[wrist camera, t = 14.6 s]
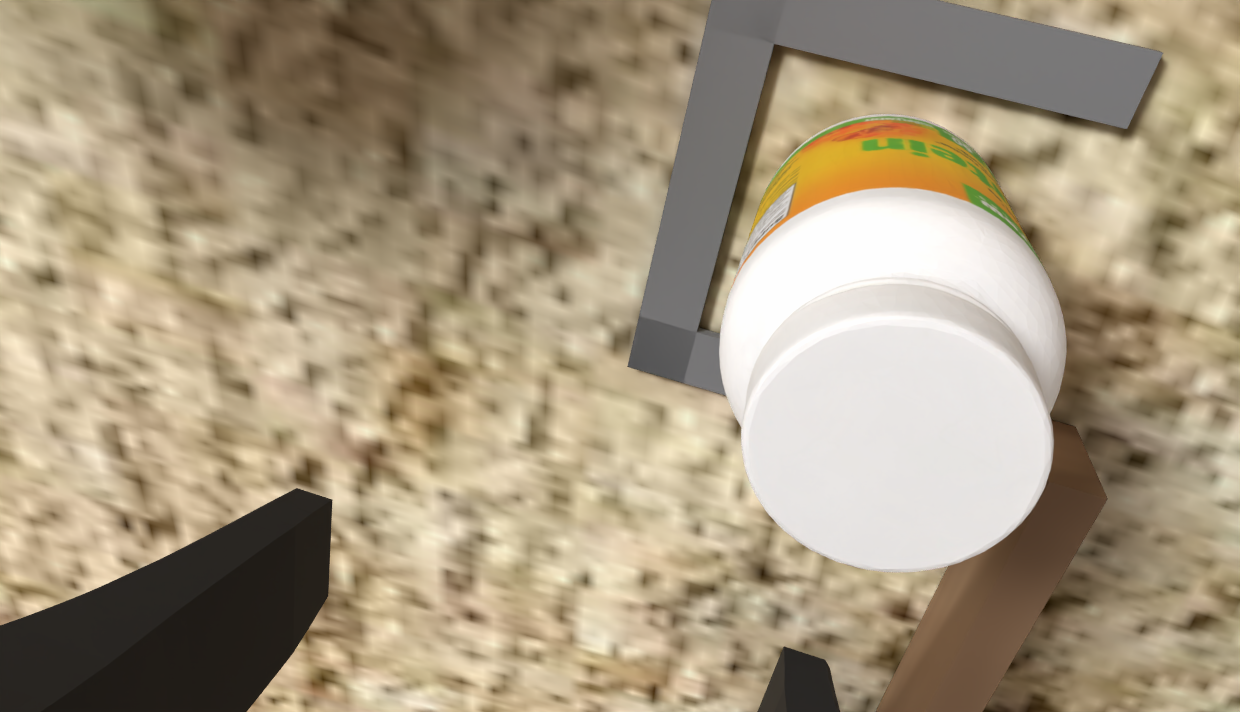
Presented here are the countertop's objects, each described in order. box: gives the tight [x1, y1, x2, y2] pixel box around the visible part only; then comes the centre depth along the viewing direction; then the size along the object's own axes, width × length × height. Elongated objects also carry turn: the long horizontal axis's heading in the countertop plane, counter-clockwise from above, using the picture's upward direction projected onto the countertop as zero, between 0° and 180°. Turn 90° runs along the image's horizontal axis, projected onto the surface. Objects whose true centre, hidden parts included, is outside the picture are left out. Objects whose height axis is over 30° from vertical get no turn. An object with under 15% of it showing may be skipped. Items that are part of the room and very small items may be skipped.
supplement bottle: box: [719, 114, 1067, 572], centre depth 16 cm, size 5×5×10 cm
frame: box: [628, 0, 1163, 395], centre depth 20 cm, size 9×10×1 cm
